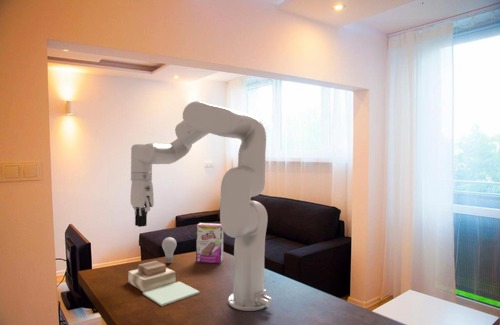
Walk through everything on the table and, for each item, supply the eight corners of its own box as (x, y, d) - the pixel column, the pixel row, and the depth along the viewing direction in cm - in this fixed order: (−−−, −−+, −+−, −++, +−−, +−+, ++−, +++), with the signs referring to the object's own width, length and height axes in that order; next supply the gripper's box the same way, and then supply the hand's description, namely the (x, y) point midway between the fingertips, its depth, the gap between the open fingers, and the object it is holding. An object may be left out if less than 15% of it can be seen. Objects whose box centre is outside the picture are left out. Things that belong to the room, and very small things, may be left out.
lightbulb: (161, 265, 134) (162, 239, 134) (161, 261, 140) (161, 236, 140) (176, 264, 135) (177, 238, 135) (176, 260, 141) (176, 235, 141)
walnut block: (165, 271, 116) (165, 265, 116) (147, 276, 111) (147, 269, 111) (156, 266, 120) (156, 260, 120) (138, 271, 115) (138, 264, 115)
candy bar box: (195, 262, 138) (196, 224, 138) (198, 259, 143) (199, 222, 143) (221, 264, 137) (221, 225, 137) (223, 260, 142) (223, 223, 142)
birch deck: (175, 282, 116) (175, 271, 116) (144, 292, 107) (144, 280, 107) (158, 274, 124) (158, 263, 124) (128, 282, 116) (128, 271, 115)
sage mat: (199, 293, 107) (199, 291, 107) (161, 306, 97) (161, 304, 97) (179, 283, 116) (179, 281, 116) (142, 294, 106) (142, 292, 106)
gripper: (161, 177, 119) (160, 227, 119) (141, 175, 130) (140, 221, 130) (141, 178, 113) (141, 230, 114) (122, 176, 124) (122, 224, 125)
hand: (140, 225), depth 122 cm, fingers closed
